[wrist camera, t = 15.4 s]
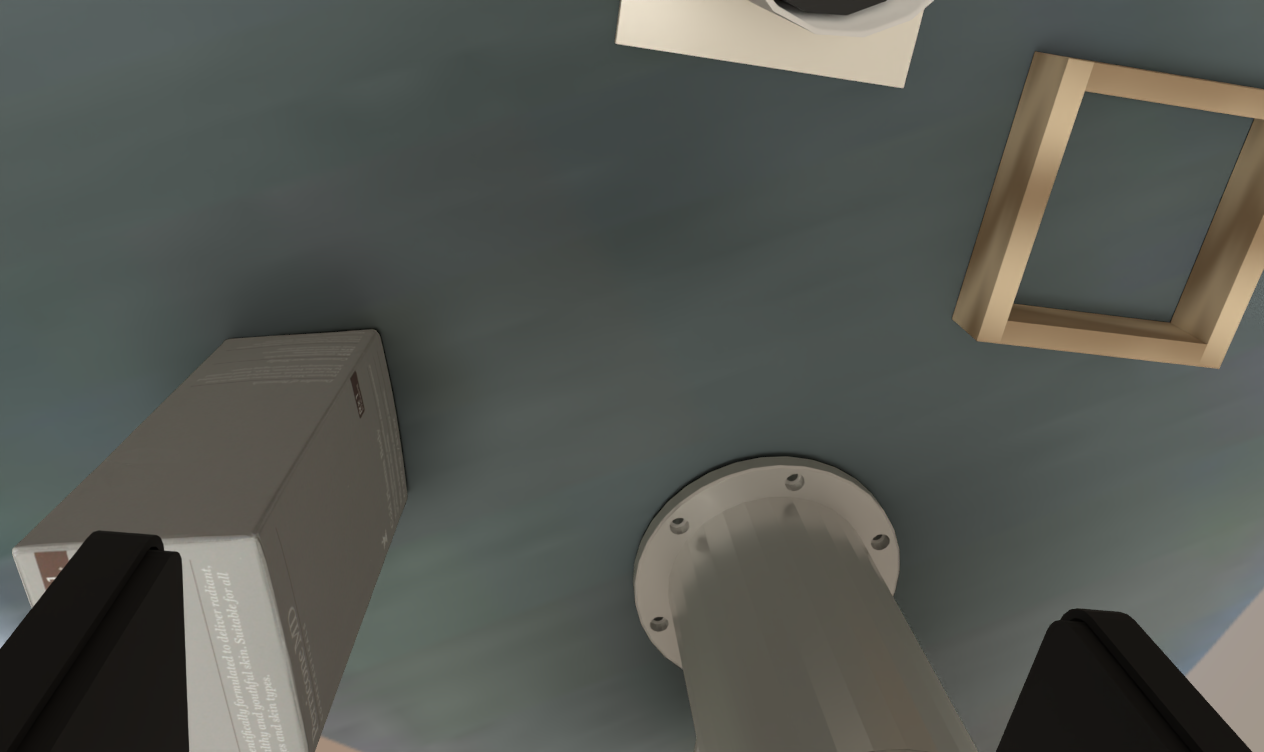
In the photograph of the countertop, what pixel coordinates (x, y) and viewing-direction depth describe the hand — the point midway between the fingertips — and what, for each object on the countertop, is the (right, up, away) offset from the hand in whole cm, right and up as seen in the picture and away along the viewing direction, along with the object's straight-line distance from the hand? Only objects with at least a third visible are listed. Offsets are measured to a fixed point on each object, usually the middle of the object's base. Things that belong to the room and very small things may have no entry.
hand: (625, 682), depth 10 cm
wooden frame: (+20, +10, +29) cm, 36 cm away
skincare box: (-13, +2, +29) cm, 32 cm away
